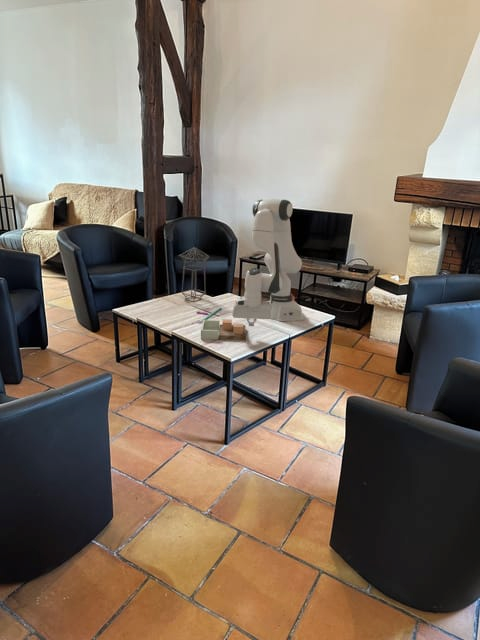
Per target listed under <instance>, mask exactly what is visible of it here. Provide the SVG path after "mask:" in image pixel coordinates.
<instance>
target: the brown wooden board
mask: <svg viewBox="0 0 480 640" xmlns="http://www.w3.org/2000/svg"><path fill="white" fill-rule="evenodd" d="M233 327H234V324H232V330H223V329H222V324H220V327H219V337H218V340H220V341H246V340H247V339H246V338H247V333H246V332H247V331H246V328H247V327H246V325H245V324H243V334H233Z"/></svg>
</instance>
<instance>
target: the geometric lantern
mask: <svg viewBox="0 0 480 640" xmlns="http://www.w3.org/2000/svg"><path fill="white" fill-rule="evenodd" d="M186 253H187V254H186ZM192 256H193V257H192ZM178 257H180V259H182V261H183V267H182V283H181V294H182V295H183V296H184V297H185V298H184V300H185V301H188V302H193V303H195V302H198V301H200V300H202V297H203V296H205V295H207V291H206V287H204V291H203V290H200V289H197V271H201V270H203V277H204V278H203V280H204V285H206V265H205V262H206V261H207V260H208V259H210V257H211V256H210V255H209V254H207V253H205V251H202V250H201V249H199V248H197V247H195V246H194V247H192V248H190V249H188V250H186V251H185V252H183V253H181V254H179V255H178ZM195 257H197V258H195ZM187 260H189V261H187ZM193 261H197V262H196V264H194V262H193ZM201 261H202V262H201ZM190 262H191V263H192V265H190ZM186 263H187V264H188V265H186ZM201 264H202V266H200V265H201ZM187 267H189V268H190V269H189V268H187ZM198 267H200V268H199V269H197V268H198ZM185 270H190V271H191V284H190V285H191V288H190V289H187V290H184V280H185V272H186V271H185ZM193 283H194V284H193ZM193 285H194V288H193ZM189 291H190V294H188V293H185V292H189ZM197 292H200V293H202V294H197ZM190 299H191V300H190Z"/></svg>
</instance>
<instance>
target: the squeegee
mask: <svg viewBox="0 0 480 640" xmlns="http://www.w3.org/2000/svg"><path fill="white" fill-rule="evenodd" d="M220 310H222V307H219V308H216V310H215V311H212V313H209V312H202V311H196V314H198V315H205V316H206V317H204V318H203V319H201V320H200V321H199V322H198V324H199V323H200V324H201V323H203V320H208V318H210V317H211V316H212V315H214V314H216V313H217V312H219V311H220ZM208 313H209V314H208Z"/></svg>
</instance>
